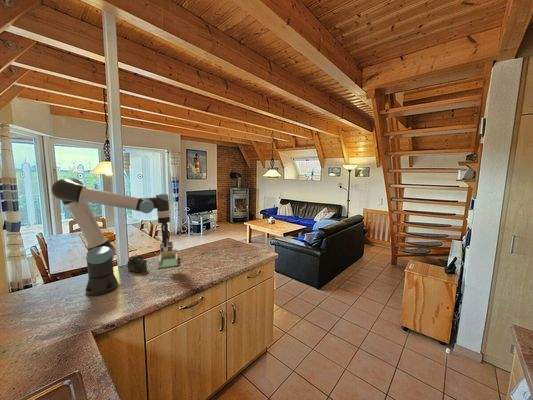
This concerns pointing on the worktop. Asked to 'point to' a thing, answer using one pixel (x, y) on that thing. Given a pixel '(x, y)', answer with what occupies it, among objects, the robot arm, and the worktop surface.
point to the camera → (137, 264)
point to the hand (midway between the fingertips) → (166, 249)
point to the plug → (170, 246)
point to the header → (168, 259)
